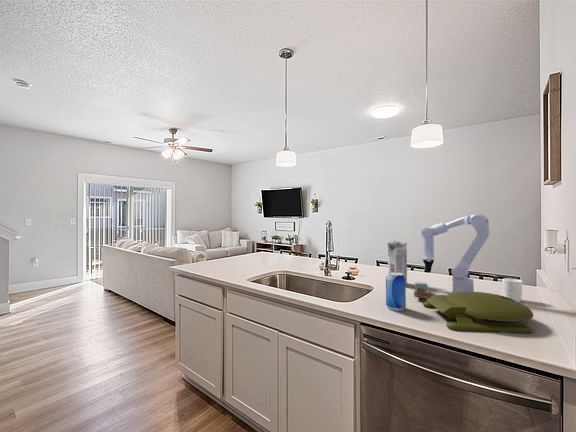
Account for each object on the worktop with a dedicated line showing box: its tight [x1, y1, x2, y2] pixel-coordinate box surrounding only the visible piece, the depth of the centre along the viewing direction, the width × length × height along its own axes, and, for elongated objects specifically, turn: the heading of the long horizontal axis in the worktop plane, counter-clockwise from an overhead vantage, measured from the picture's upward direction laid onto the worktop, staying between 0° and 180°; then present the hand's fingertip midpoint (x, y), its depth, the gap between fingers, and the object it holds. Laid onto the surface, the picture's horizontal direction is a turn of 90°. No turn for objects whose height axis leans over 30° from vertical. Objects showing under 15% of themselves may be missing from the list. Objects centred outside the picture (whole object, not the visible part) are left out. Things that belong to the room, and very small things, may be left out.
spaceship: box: [422, 291, 534, 334], centre depth 115 cm, size 35×31×10 cm
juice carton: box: [387, 240, 408, 284], centre depth 174 cm, size 9×10×27 cm
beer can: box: [385, 272, 407, 312], centre depth 128 cm, size 8×8×16 cm
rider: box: [415, 281, 428, 291], centre depth 146 cm, size 5×4×4 cm
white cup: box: [501, 277, 523, 303], centre depth 139 cm, size 8×8×10 cm
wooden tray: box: [413, 281, 430, 299], centre depth 147 cm, size 7×21×5 cm, turn 155°
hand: (428, 272), depth 159 cm, fingers closed
